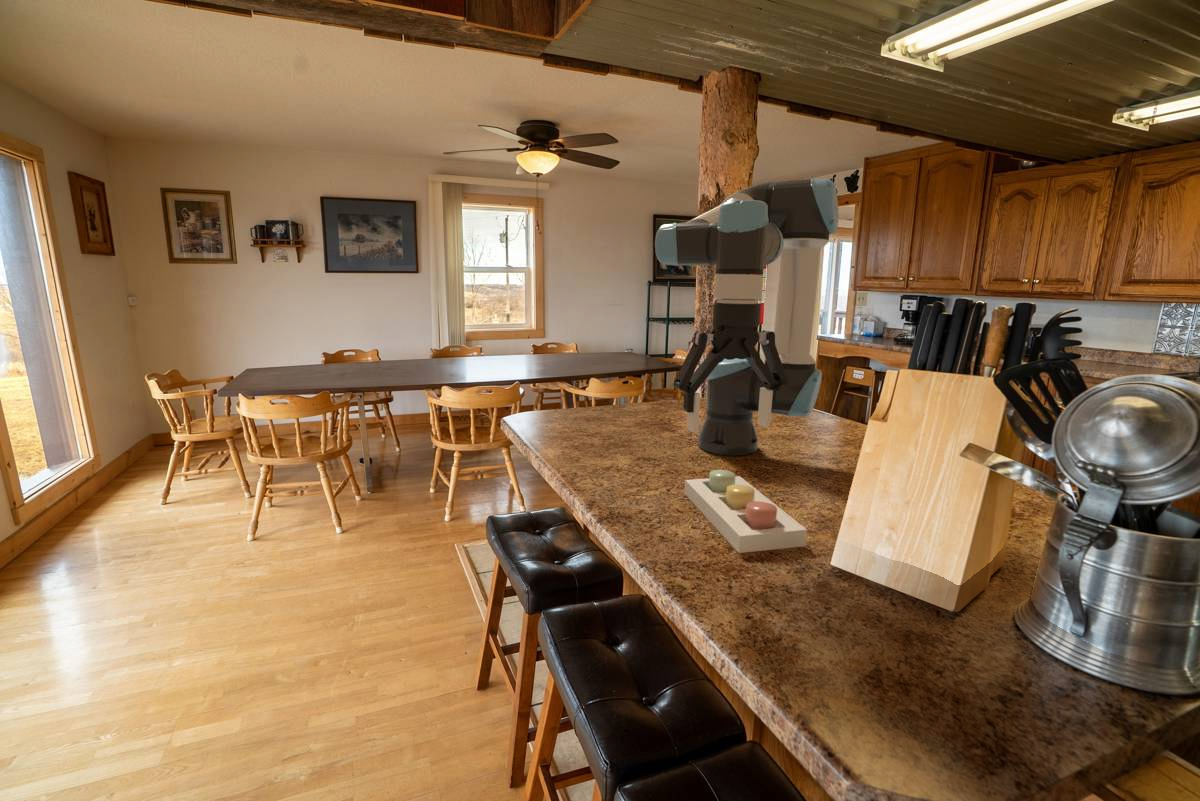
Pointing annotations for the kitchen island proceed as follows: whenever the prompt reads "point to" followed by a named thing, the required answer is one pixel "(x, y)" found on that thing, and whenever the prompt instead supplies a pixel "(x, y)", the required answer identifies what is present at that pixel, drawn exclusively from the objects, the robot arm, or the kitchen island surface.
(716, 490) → the sage button
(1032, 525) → the kitchen island surface
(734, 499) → the ochre button
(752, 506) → the brick button
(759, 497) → the panel
